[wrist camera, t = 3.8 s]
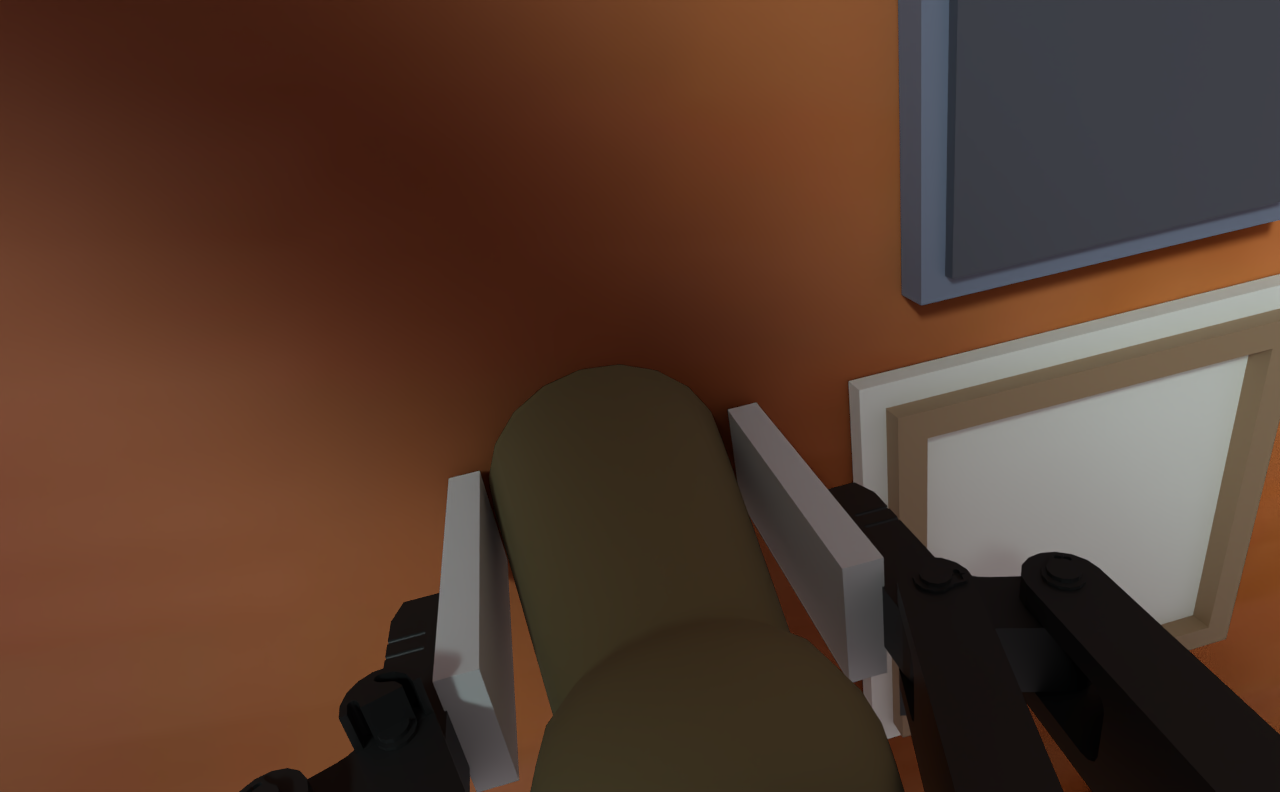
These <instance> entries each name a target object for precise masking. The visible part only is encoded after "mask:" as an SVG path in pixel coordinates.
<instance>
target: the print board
mask: <svg viewBox="0 0 1280 792" xmlns="http://www.w3.org/2000/svg"><path fill="white" fill-rule="evenodd" d="M848 382H849V403H850V424H851V445H852V465H853V482H855V483H857V484H859V485H861V486H863V487H865V488H867V489H869V490H871V491H874V492H875V493H876V494H877V495H878V496H879V497H880V498H881V500H882V501H883V502H884V503H885V504H886V505H887V507H888V509H889V508H890V509H891V510H892V511H893V512H894V514H895V515H896V516H897V518H898V520H901V521H902V522H903V523H904V524H905V525H906V527H907V528H908V529H909V530H910V531H911V532H912V533H913V534H914V535H915V536H916V537H917V538H918V539H919V541H920V542H921V543H922V544H923V545H924V546H925V547H926V548H927V549H928V550H929V551H930V552H931V553H932V555H933V556H934V557H937V558H944V559H947V560H951V561H954V562H956V563H958V564H960V565H961V566H963V567H964V568H966V569H967V570H968V571H969V572H970V574H971V575H972V576H977V577H1008V576H1021V567H1022V564H1023V563H1024V562H1025V561H1026V560H1027V558H1028V557H1031V556H1034V555H1036V554H1039V553H1045V552H1061V553H1068V554H1073V555H1076V556H1078V557H1081V558H1084V559H1086V560H1088V561H1090V562H1091V563H1093V564H1094V565H1096V566H1097V567H1099V568H1100V569H1101V570H1102V571H1103V572H1104V573H1105V574H1106V575H1107V576H1109V577H1110V578H1111V579H1112V580H1113V581H1114V582H1115V583H1116V584H1117V585H1118V586H1119V587H1120V588H1122V589H1123V590H1124V591H1125V592H1126V593H1127V594H1128V595H1129V596H1130V597H1131V598H1132V599H1133V600H1135V601H1136V602H1137V603H1138V604H1139V605H1140V606H1141V607H1142V608H1143V609H1144V610H1145V611H1146V612H1148V613H1149V614H1150V615H1151V616H1152V617H1153V618H1154V619H1155V620H1156V621H1157V622H1158V623H1159V624H1161V625H1162V626H1163V627H1164V628H1165V629H1166V630H1167V631H1168V632H1169V633H1170V634H1171V635H1172V636H1173V637H1175V638H1176V639H1177V640H1178V641H1179V642H1180V643H1181V644H1182V645H1183V646H1184V647H1185V648H1186V649H1188V650H1191V649H1195V648H1198V647H1201V646H1204V645H1208V644H1211V643H1214V642H1218V641H1221V640H1224V639H1226V637H1227V633H1228V629H1229V625H1230V620H1231V616H1232V612H1233V608H1234V604H1235V600H1236V596H1237V592H1238V588H1239V584H1240V580H1241V575H1242V571H1243V567H1244V563H1245V559H1246V555H1247V551H1248V547H1249V543H1250V539H1251V535H1252V530H1253V526H1254V522H1255V518H1256V514H1257V510H1258V506H1259V502H1260V498H1261V494H1262V490H1263V485H1264V481H1265V477H1266V473H1267V469H1268V465H1269V461H1270V457H1271V453H1272V449H1273V445H1274V440H1275V436H1276V432H1277V428H1278V424H1279V420H1280V274H1278V275H1274V276H1270V277H1266V278H1262V279H1258V280H1254V281H1250V282H1246V283H1242V284H1238V285H1234V286H1230V287H1226V288H1222V289H1218V290H1214V291H1210V292H1206V293H1202V294H1198V295H1194V296H1190V297H1186V298H1181V299H1177V300H1173V301H1169V302H1165V303H1161V304H1157V305H1153V306H1149V307H1145V308H1141V309H1137V310H1133V311H1129V312H1125V313H1121V314H1117V315H1113V316H1109V317H1105V318H1101V319H1097V320H1093V321H1089V322H1085V323H1081V324H1077V325H1073V326H1069V327H1065V328H1061V329H1056V330H1052V331H1048V332H1044V333H1040V334H1036V335H1032V336H1028V337H1024V338H1020V339H1016V340H1012V341H1008V342H1004V343H1000V344H996V345H992V346H988V347H984V348H980V349H976V350H972V351H968V352H964V353H960V354H956V355H952V356H948V357H944V358H940V359H936V360H932V361H927V362H923V363H919V364H915V365H911V366H907V367H903V368H899V369H895V370H891V371H887V372H883V373H879V374H875V375H871V376H867V377H863V378H859V379H855V380H851V381H848ZM863 694H864V696H865V697H866V699H867V700H868V702H869V704H870V705H871V707H872V708H873V710H874V711H875V713H876V715H877V716H878V718H879V719H880V721H881V722H882V725H883V728H884V731H885V734H886V736H887V739H890V738H893V737H896V736H899V735H902V737H907V736H910V735H911V733H910V729H909V724H908V720H907V716H900V690H899V667H898V665H897V664H896V663H895V661H894V660H893V658H892V657H891V655H890V654H889V652H888V651H887V673H884V674H880V675H877V676H873V677H870V678H866V679H863Z"/></svg>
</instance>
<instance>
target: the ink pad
mask: <svg viewBox="0 0 1280 792" xmlns="http://www.w3.org/2000/svg"><path fill="white" fill-rule="evenodd" d="M898 26H899V109H900V192H901V276H902V295H903V296H905V297H907V298H908V299H910V300H912V301H914V302H916V303H918V304H919V305H926V304H930V303H934V302H938V301H942V300H946V299H951V298H955V297H959V296H963V295H967V294H972V293H976V292H980V291H984V290H988V289H992V288H997V287H1001V286H1005V285H1009V284H1013V283H1018V282H1022V281H1026V280H1030V279H1034V278H1038V277H1043V276H1047V275H1051V274H1055V273H1059V272H1064V271H1068V270H1072V269H1076V268H1080V267H1084V266H1089V265H1093V264H1097V263H1101V262H1105V261H1110V260H1114V259H1118V258H1122V257H1126V256H1131V255H1135V254H1139V253H1143V252H1147V251H1151V250H1156V249H1160V248H1164V247H1168V246H1172V245H1177V244H1181V243H1185V242H1189V241H1193V240H1197V239H1202V238H1206V237H1210V236H1214V235H1218V234H1223V233H1227V232H1231V231H1235V230H1239V229H1243V228H1248V227H1252V226H1256V225H1260V224H1264V223H1269V222H1273V221H1277V220H1280V0H898Z"/></svg>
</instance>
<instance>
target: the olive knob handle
mask: <svg viewBox="0 0 1280 792" xmlns="http://www.w3.org/2000/svg"><path fill="white" fill-rule="evenodd" d="M489 483H490V488H491V494H492V499H493V505H494V510H495V514H496V517H497V521H498V524H499V528H500V531H501V535H502V538H503V542H504V545H505V549H506V552H507V556H508V559H509V563H510V566H511V570H512V573H513V577H514V580H515V584H516V587H517V591H518V594H519V598H520V601H521V605H522V608H523V612H524V615H525V619H526V622H527V626H528V629H529V633H530V636H531V640H532V643H533V647H534V650H535V654H536V657H537V661H538V664H539V668H540V671H541V675H542V678H543V682H544V685H545V689H546V692H547V696H548V699H549V703H550V706H551V710H552V713H553V717H552V718H551V719H550V721H549V722H548V724H547V725H546V728H545V732H544V736H543V740H542V744H541V748H540V751H539V755H538V759H537V763H536V767H535V772H534V777H533V782H532V787H531V791H530V792H904V788H903V785H902V782H901V779H900V775H899V772H898V769H897V766H896V762H895V759H894V756H893V753H892V750H891V748H890V745H889V742H888V739H887V736H886V734H885V731H884V728H883V725H882V722H881V721H880V719H879V718H878V716H877V715H876V713H875V711H874V710H873V708H872V707H871V705H870V704H869V702H868V700H867V699H866V697H865V696H864V694H863V693H862V691H861V690H860V689H859V688H858V687H857V686H856V685H855V684H854V683H853V682H852V681H851V680H850V679H849V678H848V677H847V676H846V675H844V674H843V673H842V672H841V671H840V670H839V669H838V668H837V667H836V666H835V665H834V664H833V663H832V662H831V661H830V660H829V659H828V658H826V657H825V656H824V655H823V654H822V653H821V652H820V651H819V650H818V649H817V648H816V647H815V646H814V645H812V644H811V643H810V642H809V641H808V640H807V639H805V638H802V637H800V636H797V635H794V634H792V633H790V631H789V628H788V625H787V622H786V619H785V616H784V614H783V611H782V608H781V605H780V602H779V599H778V597H777V594H776V591H775V588H774V585H773V582H772V580H771V577H770V574H769V571H768V568H767V565H766V563H765V560H764V557H763V554H762V551H761V548H760V545H759V543H758V540H757V537H756V534H755V531H754V528H753V526H752V523H751V520H750V517H749V514H748V511H747V509H746V506H745V503H744V500H743V497H742V494H741V492H740V489H739V486H738V483H737V480H736V477H735V474H734V472H733V469H732V466H731V463H730V460H729V457H728V455H727V452H726V449H725V446H724V443H723V440H722V438H721V436H720V433H719V431H718V428H717V426H716V423H715V421H714V418H713V416H712V413H711V411H710V410H709V409H708V408H707V407H706V406H705V405H704V403H703V402H702V401H701V400H700V399H699V398H698V397H697V396H696V395H695V394H694V393H693V392H692V390H691V389H690V388H689V387H687V386H686V385H684V384H682V383H680V382H678V381H676V380H674V379H672V378H670V377H668V376H666V375H664V374H662V373H661V372H659V371H657V370H651V369H644V368H638V367H632V366H626V365H620V364H618V365H611V366H604V367H597V368H590V369H582V370H578V371H576V372H574V373H572V374H570V375H567V376H565V377H563V378H561V379H559V380H556V381H554V382H552V383H550V384H548V385H545V386H543V387H542V388H541V389H540V390H539V391H538V392H536V393H535V394H534V395H533V396H532V397H531V398H530V399H528V400H527V401H526V402H525V403H524V404H523V405H522V406H521V407H519V408H518V409H517V410H516V411H515V412H514V413H513V415H512V416H511V418H510V420H509V421H508V423H507V425H506V427H505V428H504V430H503V432H502V433H501V435H500V437H499V438H498V440H497V442H496V444H495V448H494V453H493V458H492V463H491V468H490V474H489Z"/></svg>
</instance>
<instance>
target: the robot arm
mask: <svg viewBox="0 0 1280 792" xmlns="http://www.w3.org/2000/svg"><path fill="white" fill-rule="evenodd" d="M728 416H729V424H730V431H731V439H732V446H733V454H734V461H735V469H736V476H737V483H738V486H739V489H740V492H741V494H742V497H743V500H744V503H745V506H746V509H747V511H748V514H749V516H750V518H751V519H752V521H753V523H754V524H755V526H756V528H757V529H758V531H759V533H760V534H761V536H762V538H763V539H764V541H765V543H766V544H767V546H768V548H769V549H770V551H771V553H772V554H773V556H774V558H775V559H776V561H777V563H778V564H779V566H780V568H781V569H782V571H783V573H784V575H785V576H786V578H787V580H788V581H789V583H790V585H791V586H792V588H793V590H794V591H795V593H796V595H797V596H798V598H799V600H800V601H801V603H802V605H803V606H804V608H805V610H806V611H807V613H808V615H809V616H810V618H811V620H812V621H813V623H814V625H815V626H816V628H817V630H818V631H819V633H820V635H821V636H822V638H823V640H824V641H825V643H826V645H827V646H828V648H829V650H830V652H831V653H832V655H833V657H834V658H835V660H836V662H837V663H838V665H839V667H840V668H841V670H842V672H843V673H844V675H846V676H847V677H848V678H849V679H850V680H851V681H852V682H856V681H860V680H863V679H866V678H870V677H873V676H877V675H880V674H884V673H887V651H888V652H889V654H890V655H891V657H892V658H893V660H894V661H895V663H896V664H897V665H898V667H899V690H900V716H907V720H908V724H909V729H910V733H911V737H912V741H913V745H914V749H915V754H916V758H917V762H918V766H919V770H920V775H921V779H922V783H923V787H924V791H925V792H1063V789H1062V787H1061V785H1060V782H1059V780H1058V778H1057V775H1056V773H1055V770H1054V768H1053V766H1052V763H1051V761H1050V758H1049V756H1048V754H1047V751H1046V749H1045V747H1044V744H1043V742H1042V739H1041V737H1040V735H1039V732H1038V730H1037V727H1036V725H1035V723H1034V720H1033V718H1032V715H1031V713H1030V711H1029V708H1028V706H1029V707H1030V708H1031V710H1032V711H1033V712H1034V714H1035V715H1036V716H1037V718H1038V719H1039V721H1040V722H1041V723H1042V725H1043V726H1044V727H1045V729H1046V730H1047V731H1048V733H1049V734H1050V735H1051V737H1052V738H1053V739H1054V741H1055V742H1056V743H1057V745H1058V746H1059V747H1060V749H1061V750H1062V751H1063V753H1064V754H1065V755H1066V757H1067V758H1068V760H1069V761H1070V762H1071V764H1072V765H1073V766H1074V768H1075V769H1076V770H1077V772H1078V773H1079V774H1080V776H1081V777H1082V778H1083V780H1084V781H1085V782H1086V784H1087V785H1088V786H1089V788H1090V789H1091V790H1092V792H1280V734H1278V733H1277V732H1276V731H1275V730H1274V729H1273V728H1272V727H1271V726H1270V725H1269V724H1268V723H1267V722H1265V721H1264V720H1263V719H1262V718H1261V717H1260V716H1259V715H1258V714H1257V713H1256V712H1255V711H1254V710H1252V709H1251V708H1250V707H1249V706H1248V705H1247V704H1246V703H1245V702H1244V701H1243V700H1242V699H1241V698H1240V697H1238V696H1237V695H1236V694H1235V693H1234V692H1233V691H1232V690H1231V689H1230V688H1229V687H1228V686H1227V685H1225V684H1224V683H1223V682H1222V681H1221V680H1220V679H1219V678H1218V677H1217V676H1216V675H1215V674H1214V673H1212V672H1211V671H1210V670H1209V669H1208V668H1207V667H1206V666H1205V665H1204V664H1203V663H1202V662H1201V661H1199V660H1198V659H1197V658H1196V657H1195V656H1194V655H1193V654H1192V653H1191V652H1190V651H1189V650H1188V649H1186V648H1185V647H1184V646H1183V645H1182V644H1181V643H1180V642H1179V641H1178V640H1177V639H1176V638H1175V637H1173V636H1172V635H1171V634H1170V633H1169V632H1168V631H1167V630H1166V629H1165V628H1164V627H1163V626H1162V625H1161V624H1159V623H1158V622H1157V621H1156V620H1155V619H1154V618H1153V617H1152V616H1151V615H1150V614H1149V613H1148V612H1146V611H1145V610H1144V609H1143V608H1142V607H1141V606H1140V605H1139V604H1138V603H1137V602H1136V601H1135V600H1133V599H1132V598H1131V597H1130V596H1129V595H1128V594H1127V593H1126V592H1125V591H1124V590H1123V589H1122V588H1120V587H1119V586H1118V585H1117V584H1116V583H1115V582H1114V581H1113V580H1112V579H1111V578H1110V577H1109V576H1107V575H1106V574H1105V573H1104V572H1103V571H1102V570H1101V569H1100V568H1099V567H1097V566H1096V565H1094V564H1093V563H1091V562H1090V561H1088V560H1086V559H1084V558H1081V557H1078V556H1076V555H1073V554H1068V553H1061V552H1045V553H1039V554H1036V555H1034V556H1031V557H1028V558H1027V560H1026V561H1025V562H1024V563H1023V564H1022V567H1021V576H1008V577H977V576H972V575H971V574H970V572H969V571H968V570H967V569H966V568H964V567H963V566H961V565H960V564H958V563H956V562H954V561H951V560H947V559H944V558H937V557H934V556H933V555H932V553H931V552H930V551H929V550H928V549H927V548H926V547H925V546H924V545H923V544H922V543H921V542H920V541H919V539H918V538H917V537H916V536H915V535H914V534H913V533H912V532H911V531H910V530H909V529H908V528H907V527H906V525H905V524H904V523H903V522H902V521H901V520H898V518H897V516H896V515H895V514H894V512H893V511H892V510H891V509H890V508H889V509H888V507H887V505H886V504H885V503H884V502H883V501H882V500H881V498H880V497H879V496H878V495H877V494H876V493H875V492H874V491H871V490H869V489H867V488H865V487H863V486H861V485H859V484H857V483H855V482H853V483H850V484H846V485H842V486H838V487H834V488H831V489H827V488H826V487H825V486H824V484H823V483H822V482H821V481H820V479H819V478H818V477H817V476H816V475H815V473H814V472H813V471H812V470H811V468H810V467H809V466H808V465H807V464H806V462H805V461H804V460H803V459H802V458H801V456H800V455H799V454H798V453H797V451H796V450H795V449H794V448H793V447H792V445H791V444H790V443H789V442H788V440H787V439H786V438H785V437H784V436H783V434H782V433H781V432H780V431H779V429H778V428H777V427H776V426H775V425H774V423H773V422H772V421H771V420H770V419H769V417H768V416H767V415H766V414H765V412H764V411H763V410H762V409H761V408H760V406H759V405H758V404H757V403H752V404H748V405H744V406H740V407H736V408H732V409H728ZM388 643H389V644H388V645H387V650H386V656H385V657H386V660H385V662H384V668H383V669H381V670H378V671H375V672H372V673H371V674H369V675H368V676H366V677H364V678H363V679H361V680H360V681H358V682H357V683H356V684H355V685H354V686H353V687H352V688H351V689H350V690H349V691H348V692H347V693H346V695H345V697H344V699H343V701H342V703H341V705H340V709H339V720H340V722H341V724H342V726H343V728H344V730H345V732H346V734H347V736H348V738H349V740H350V742H351V744H352V746H353V748H354V751H353V752H352V753H350V754H349V755H348V756H347V757H345V758H344V759H342V760H341V761H339V762H338V763H336V764H334V765H333V766H331V767H329V768H327V769H325V770H324V771H322V772H320V773H318V774H316V775H314V776H313V777H311V778H309V779H307V778H306V777H305V776H304V775H303V774H302V773H301V772H300V771H298V770H294V769H289V768H286V769H280V770H275V771H271V772H269V773H267V774H265V775H263V776H261V777H259V778H257V779H255V780H254V781H252V782H251V783H250V784H248V785H247V786H246V787H245V788H243V789H242V790H241V791H240V792H469V791H470V776H471V779H472V781H473V784H474V786H475V789H476V791H477V792H481V791H484V790H488V789H491V788H494V787H498V786H501V785H505V784H508V783H512V782H515V781H518V780H519V768H518V749H517V730H516V711H515V693H514V674H513V655H512V636H511V617H510V598H509V580H508V561H507V557H506V554H505V550H504V547H503V544H502V541H501V537H500V534H499V531H498V528H497V525H496V521H495V518H494V515H493V512H492V508H491V505H490V502H489V499H488V496H487V492H486V489H485V486H484V483H483V480H482V476H481V473H480V471H477V472H473V473H469V474H465V475H460V476H456V477H452V478H449V481H448V493H447V506H446V518H445V531H444V543H443V556H442V568H441V581H440V593H437V594H434V595H430V596H426V597H422V598H418V599H415V600H411V601H407V602H404V603H403V604H402V606H401V607H400V609H399V610H398V612H397V614H396V615H395V617H394V618H393V620H392V621H391V625H390V631H389V638H388ZM1026 703H1027V704H1028V706H1027V704H1026Z"/></svg>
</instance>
